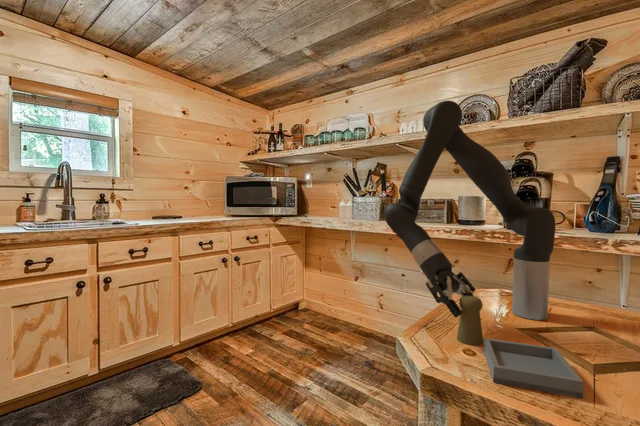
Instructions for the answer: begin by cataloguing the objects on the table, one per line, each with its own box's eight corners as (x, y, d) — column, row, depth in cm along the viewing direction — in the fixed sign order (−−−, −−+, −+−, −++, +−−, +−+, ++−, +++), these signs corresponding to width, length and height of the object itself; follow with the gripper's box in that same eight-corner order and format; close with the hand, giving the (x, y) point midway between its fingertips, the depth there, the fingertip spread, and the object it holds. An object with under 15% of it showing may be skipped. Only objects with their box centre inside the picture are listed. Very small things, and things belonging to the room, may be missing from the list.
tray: (483, 350, 74) (483, 337, 74) (555, 361, 69) (556, 348, 69) (493, 382, 61) (493, 366, 61) (583, 398, 56) (583, 381, 56)
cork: (486, 346, 76) (487, 301, 76) (459, 344, 77) (460, 299, 77) (479, 336, 82) (480, 294, 81) (454, 334, 83) (455, 292, 83)
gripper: (422, 253, 82) (463, 310, 73) (454, 249, 90) (494, 300, 81) (406, 270, 87) (442, 325, 78) (438, 265, 95) (474, 314, 86)
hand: (469, 312), depth 79 cm, fingers open, 8 cm apart
